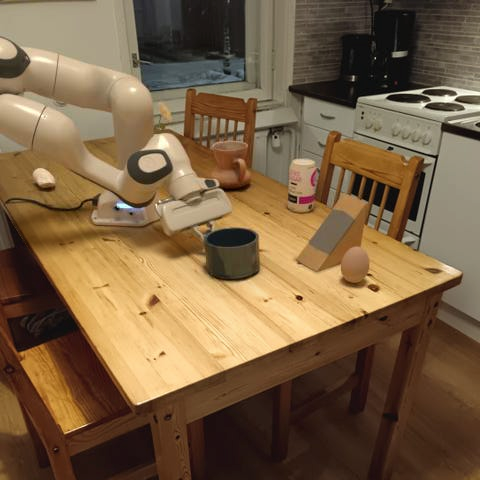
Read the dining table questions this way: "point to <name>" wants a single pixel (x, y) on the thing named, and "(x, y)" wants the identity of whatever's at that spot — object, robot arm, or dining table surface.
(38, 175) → the roll
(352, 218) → the sandwich container
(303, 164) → the supplement can
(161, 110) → the flower in vase
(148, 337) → the dining table surface
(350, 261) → the egg
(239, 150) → the ceramic jug
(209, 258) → the coffee mug
